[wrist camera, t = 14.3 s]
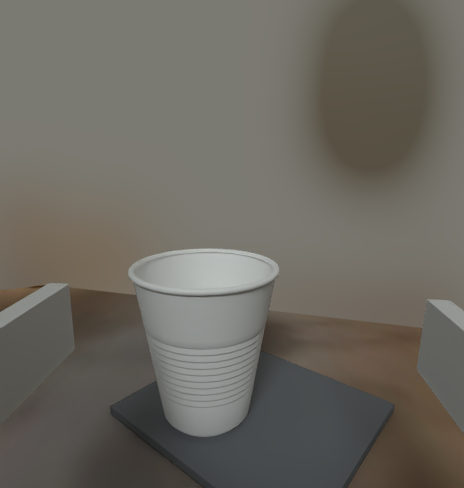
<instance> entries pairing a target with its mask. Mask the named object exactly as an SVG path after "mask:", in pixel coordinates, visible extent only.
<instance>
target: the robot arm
mask: <svg viewBox="0 0 464 488" xmlns="http://www.w3.org/2000/svg"><path fill="white" fill-rule="evenodd" d="M74 350H75V342H74V332H73V321H72V311H71V300H70V290H69V284H60V283H49V284H47V285H45V286H44V287H42V288H40V289H39V290H37V291H35V292H34V293H32V294H30V295H28V296H27V297H25V298H23V299H22V300H20V301H18V302H16V303H15V304H13V305H11V306H10V307H8V308H6V309H4V310H3V311H1V312H0V426H1V425H2V424H3V423H4V422H5V421H6V420H7V419H8V417H9V416H10V415H11V414H12V413H13V412H14V411H15V410H16V409H17V408H18V407H19V406H20V405H21V404H22V403H23V402H24V401H25V400H26V399H27V398H28V397H29V396H30V395H31V394H32V393H33V392H34V391H35V390H36V389H37V388H38V387H39V386H40V385H41V384H42V383H43V382H44V381H45V380H46V379H47V378H48V377H49V376H50V375H51V374H52V373H53V372H54V371H55V370H56V369H57V368H58V366H59V365H60V364H61V363H62V362H63V361H64V360H65V359H66V358H67V357H68V356H69V355H70V354H71V353H72V352H73V351H74ZM417 370H418V372H419V373H420V375H421V376H422V377H423V379H424V380H425V381H426V383H427V384H428V385H429V387H430V388H431V390H432V391H433V392H434V394H435V395H436V396H437V398H438V399H439V401H440V402H441V403H442V405H443V406H444V407H445V409H446V410H447V411H448V413H449V414H450V416H451V417H452V418H453V420H454V421H455V422H456V424H457V425H458V426H459V428H460V429H461V431H462V432H463V433H464V311H463V310H462V309H460V308H459V307H457V306H456V305H455V304H454V303H452V302H451V301H450V300H428V299H427V303H426V311H425V316H424V323H423V330H422V336H421V343H420V350H419V356H418V363H417Z"/></svg>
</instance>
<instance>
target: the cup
mask: <svg viewBox="0 0 464 488" xmlns="http://www.w3.org/2000/svg"><path fill="white" fill-rule="evenodd" d="M279 272H280V269H279V266H278V265H277V263H275V261H272V260H271V259H269V258H268V257H265V256H262V255H258V254H255V253H251V252H245V251H238V250H229V249H187V250H179V251H178V250H177V251H170V252H165V253H160V254H156V255H152V256H149V257H146V258H143V259H141V260H139V261H137V262H135V263H134V264H133V265H132V266H130V269H129V270H128V276H129V279H130V280H131V281H132V282H133V283H134V287H135V291H136V295H137V300H138V304H139V308H140V312H141V317H142V321H143V325H144V329H145V333H146V337H147V341H148V346H149V350H150V354H151V359H152V362H153V367H154V371H155V376H156V380H157V384H158V389H159V393H160V397H161V401H162V406H163V410H164V414H165V417H166V419H167V420H168V422H169V423H170V424H171V425H172V426H173V427H174V428H176V429H178V430H179V431H181V432H183V433H186V434H188V435H192V436H197V437H210V436H216V435H220V434H223V433H226V432H228V431H230V430H231V429H233V428H235V427H236V426H238V425H239V424H240V423H241V422H242V421H243V420H244V419H245V417H246V415H247V413H248V410H249V406H250V401H251V396H252V391H253V386H254V380H255V375H256V369H257V364H258V360H259V355H260V350H261V344H262V339H263V336H264V330H265V325H266V322H267V317H268V312H269V307H270V301H271V297H272V291H273V287H274V281H275V279H276V278H277V277H278V275H279Z"/></svg>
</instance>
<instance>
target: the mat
mask: <svg viewBox="0 0 464 488" xmlns="http://www.w3.org/2000/svg"><path fill="white" fill-rule="evenodd" d="M393 411H394V404H393V403H391V402H388V401H386V400H383V399H381V398H378V397H376V396H373V395H371V394H368V393H366V392H363V391H361V390H358V389H356V388H353V387H351V386H348V385H346V384H343V383H341V382H338V381H336V380H333V379H331V378H328V377H326V376H323V375H321V374H318V373H316V372H313V371H311V370H308V369H306V368H303V367H301V366H298V365H296V364H293V363H291V362H288V361H286V360H283V359H281V358H278V357H276V356H273V355H271V354H268V353H266V352H263V351H261V350H260V355H259V360H258V364H257V369H256V375H255V380H254V386H253V391H252V396H251V401H250V406H249V410H248V413H247V415H246V417H245V419H244V420H243V421H242V422H241V423H240V424H239V425H238V426H236V427H235V428H233V429H231V430H230V431H228V432H226V433H223V434H220V435H216V436H210V437H197V436H192V435H188V434H186V433H183V432H181V431H179V430H178V429H176V428H174V427H173V426H172V425H171V424H170V423H169V422H168V420H167V419H166V417H165V414H164V410H163V406H162V401H161V397H160V393H159V389H158V384H157V381H155V382H153V383H151V384H150V385H148V386H146V387H144V388H142V389H141V390H139V391H137V392H135V393H133V394H132V395H130V396H128V397H126V398H124V399H123V400H121V401H119V402H117V403H115V404H114V405H112V406H110V412H111V414H112V415H113V416H114V417H116V418H117V419H118V420H119V421H121V422H122V423H123V424H124V425H126V426H127V427H128V428H130V429H131V430H132V431H133V432H135V433H136V434H137V435H138V436H140V437H141V438H142V439H143V440H145V441H146V442H147V443H148V444H150V445H151V446H152V447H154V448H155V449H156V450H157V451H159V452H160V453H161V454H162V455H164V456H165V457H166V458H167V459H169V460H170V461H171V462H173V463H174V464H175V465H176V466H178V467H179V468H180V469H181V470H183V471H184V472H185V473H186V474H188V475H189V476H190V477H191V478H193V479H194V480H195V481H197V482H198V483H199V484H200V485H202V486H203V487H204V488H347V486H348V485H349V483H350V481H351V480H352V478H353V477H354V475H355V473H356V472H357V470H358V468H359V467H360V465H361V463H362V462H363V460H364V459H365V457H366V455H367V454H368V452H369V450H370V449H371V447H372V445H373V444H374V442H375V441H376V439H377V437H378V436H379V434H380V432H381V431H382V429H383V427H384V426H385V424H386V423H387V421H388V419H389V418H390V416H391V414H392V413H393Z"/></svg>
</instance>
